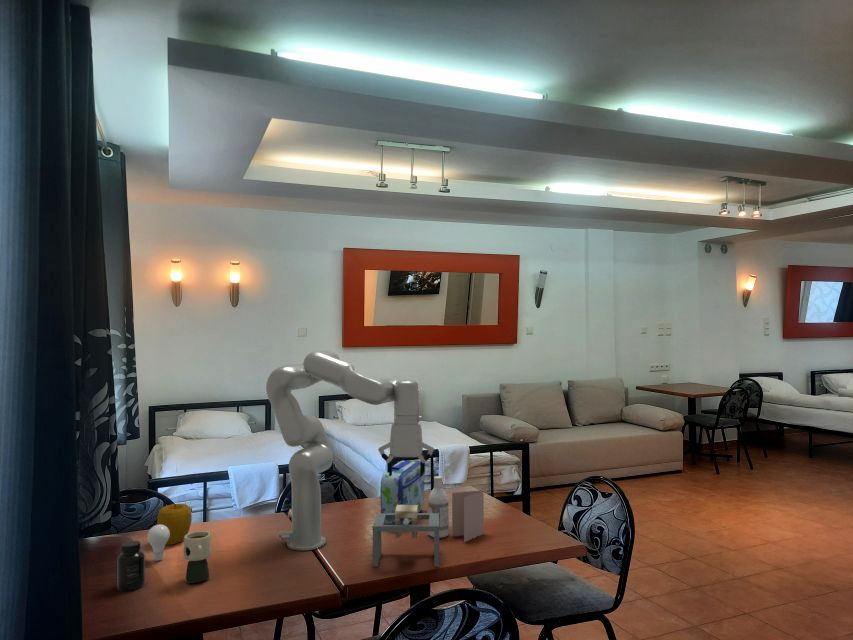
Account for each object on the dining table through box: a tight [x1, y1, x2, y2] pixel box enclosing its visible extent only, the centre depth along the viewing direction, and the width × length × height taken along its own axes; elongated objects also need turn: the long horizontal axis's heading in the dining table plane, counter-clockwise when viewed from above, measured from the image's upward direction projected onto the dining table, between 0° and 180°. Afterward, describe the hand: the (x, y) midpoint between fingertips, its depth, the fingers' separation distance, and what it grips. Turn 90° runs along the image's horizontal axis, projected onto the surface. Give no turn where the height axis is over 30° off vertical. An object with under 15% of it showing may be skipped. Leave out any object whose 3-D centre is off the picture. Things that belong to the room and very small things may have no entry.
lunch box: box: [379, 460, 426, 525], centre depth 227 cm, size 26×11×21 cm, turn 162°
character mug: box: [183, 530, 212, 584], centre depth 172 cm, size 11×7×13 cm, turn 28°
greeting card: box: [451, 490, 485, 543], centre depth 206 cm, size 11×7×15 cm, turn 105°
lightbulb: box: [146, 524, 170, 562], centre depth 187 cm, size 6×6×11 cm
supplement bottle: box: [116, 540, 146, 592], centre depth 168 cm, size 7×7×12 cm
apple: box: [156, 503, 193, 546], centre depth 203 cm, size 11×11×13 cm
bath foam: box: [427, 475, 450, 539], centre depth 209 cm, size 7×7×20 cm
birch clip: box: [394, 505, 419, 539], centre depth 187 cm, size 7×7×8 cm
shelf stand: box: [372, 512, 440, 568], centre depth 187 cm, size 20×13×14 cm, turn 89°
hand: (406, 475), depth 188 cm, fingers open, 9 cm apart
